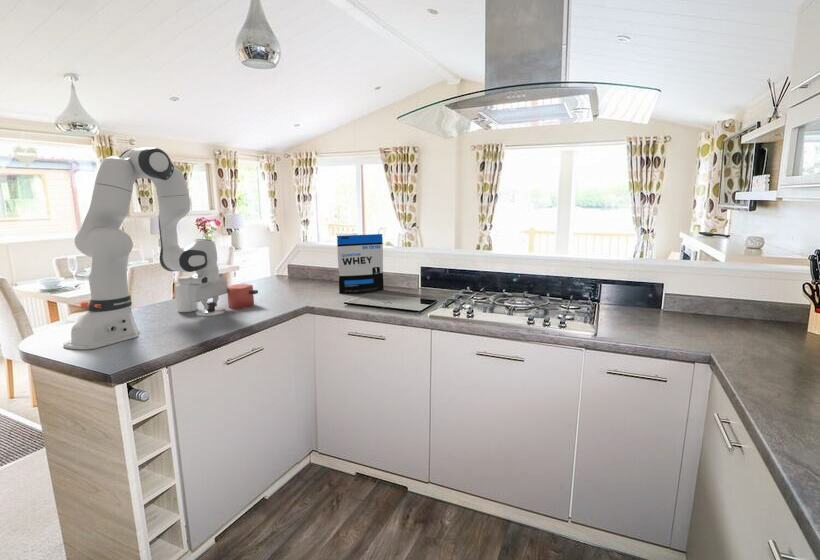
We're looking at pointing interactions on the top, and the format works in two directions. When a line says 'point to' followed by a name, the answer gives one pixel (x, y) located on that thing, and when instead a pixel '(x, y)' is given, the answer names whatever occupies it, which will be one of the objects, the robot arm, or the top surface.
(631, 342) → the top surface
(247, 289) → the pot
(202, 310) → the lid
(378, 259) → the protein powder
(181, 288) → the pill bottle
